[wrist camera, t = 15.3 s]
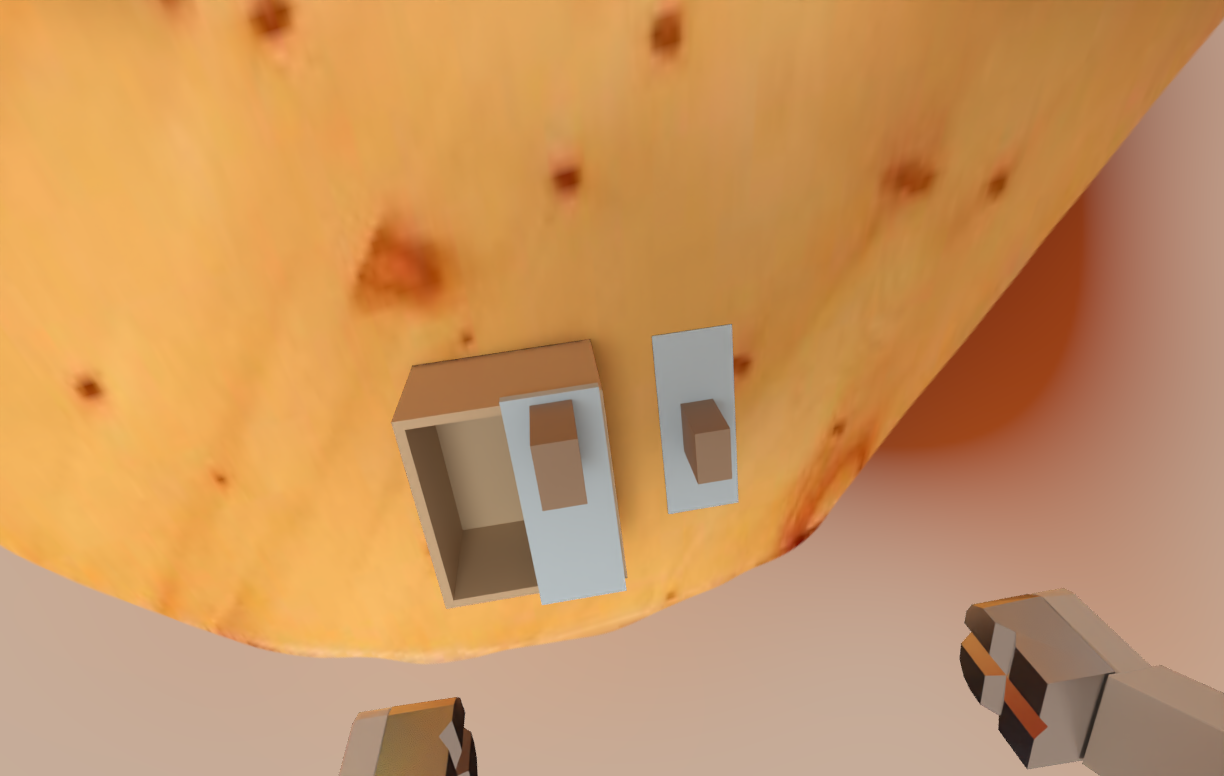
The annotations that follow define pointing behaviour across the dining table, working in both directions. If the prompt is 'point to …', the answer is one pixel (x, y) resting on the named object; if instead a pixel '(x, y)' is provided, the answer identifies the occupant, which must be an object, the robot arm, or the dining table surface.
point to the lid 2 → (697, 417)
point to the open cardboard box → (479, 464)
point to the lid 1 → (565, 491)
